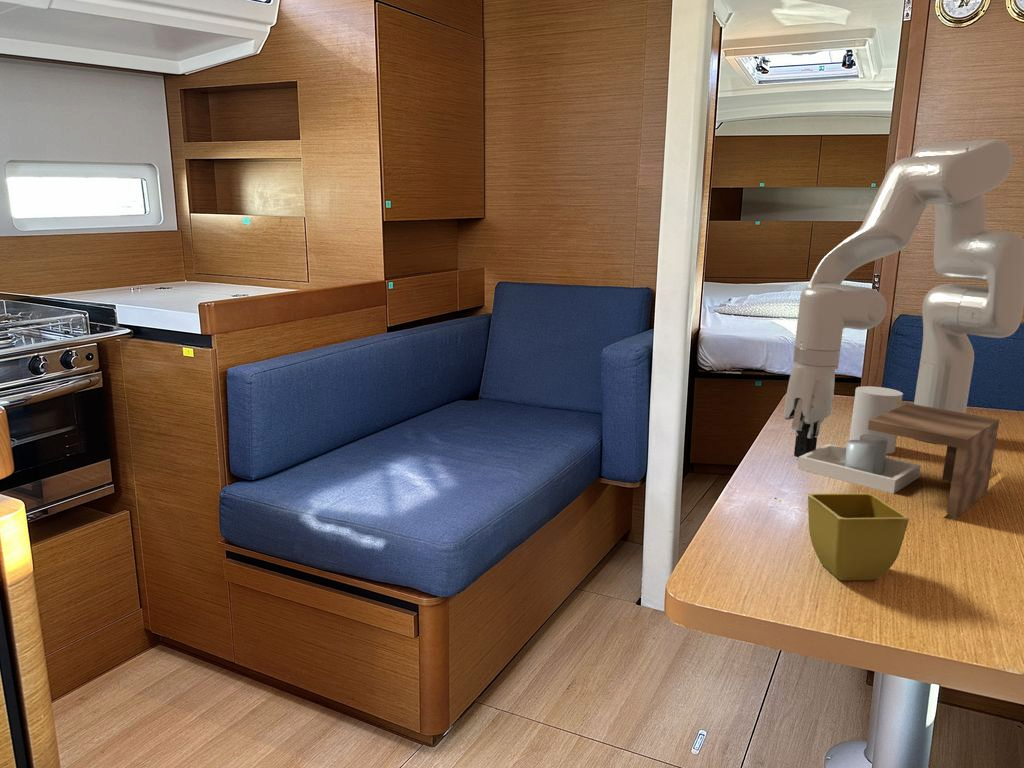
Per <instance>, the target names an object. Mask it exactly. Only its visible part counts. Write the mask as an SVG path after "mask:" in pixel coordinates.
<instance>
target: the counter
mask: <svg viewBox="0 0 1024 768" xmlns="http://www.w3.org/2000/svg"><path fill="white" fill-rule="evenodd" d="M999 424H1000V419H999V418H993V417H988V416H982V415H976V414H970V413H960V412H954V411H949V410H943V409H937V408H932V407H926V406H920V405H915V404H914V403H910V402H908V403H905V404H903V405H901V407H898V408H896V409H894V410H891V411H889V412H887V413H885V414H882V415H880V416H878V417H876V418H873V419H871V420H869V425H868V430H873V431H878V432H883V433H888V434H893V435H897V437H904V438H908V439H913V440H917V441H922V442H927V443H932V444H937V445H942V446H946V453H945V458H944V464H943V472H942V480H943V481H946V482H951V483H950V489H949V496H948V502H947V509H946V515H945V518H946V519H949V520H953V521H956V520H957V519H958V518H959V517H960V516H961V515H962V514H964V513H965V512H966V511H967V510H968V509H969V508H971V507H972V506H973V505H974V504H975V503H976V502H978V501H979V500H980V499H981V498H982V497H984V496H985V495H986V494H987V493H988V489H989V484H990V478H991V473H992V471H991V470H992V466H993V462H994V461H993V460H994V454H995V448H996V441H997V436H998V432H999Z"/></svg>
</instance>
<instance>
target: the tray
mask: <svg viewBox="0 0 1024 768" xmlns="http://www.w3.org/2000/svg"><path fill="white" fill-rule="evenodd" d="M846 449H847V447H843V446H839V445H835V444H829V443H828V444H825V445H823V446H820V447H818V448H816V449H815V450H813V451H811V452H809V453H806V454H804V455H802V456H799V457H798V461H797V470H800V471H804V472H806V473H811V474H814V475H819V476H822V477H823V476H824V477H827V478H831V479H835V480H838V481H843V482H846V483H850V484H853V485H858V486H861V487H865V488H869V489H873V490H877V491H881V492H886V493H889V494H893V495H894V494H896V493H897V492H898V491H900V490H901V489H903V488H905V487H906V486H908V485H910V484H911V483H913V482H914V481H916V480H917V479H919V478H920V473H921V464H918V463H913V462H909V461H905V460H900V459H895V458H892V457H891V458H890V457H887V456H886V458H885V465H884V472H883V474H882V475H877V474H873V473H869V472H865V471H861V470H857V469H853V468H849V467H845V458H846Z"/></svg>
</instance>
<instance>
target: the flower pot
mask: <svg viewBox="0 0 1024 768" xmlns="http://www.w3.org/2000/svg"><path fill="white" fill-rule="evenodd" d="M807 510H808V511H807V513H808V514H807V515H808V517H807V518H808V531H809V538H810V541H811V544H812V548H813V549H814V552H815V555H816V556H817V558H818V561H819V562H820V564H821V565H822V566H823V567H824V568H825V569H826V570H828V571H829V572H830V573H831V574H832V575H833V576H834V577H835V578H837V579H838V580H840V581H877V580H879V579H881V578H882V576H884V575H885V574H886V573H888V571H889V570H890V569H891V567H893V565H894V563H895V562H896V560H897V558H898V557H899V554H900V552H901V549H902V544H903V542H904V537H905V535H906V531H907V528H908V527H907V526H908V524H909V520H910V517H909V516H908V515H906V514H904V513H903V512H901V511H899V510H897V508H894V507H892V506H891V505H889V504H888V503H886V502H885V501H884V500H882V499H880V498H879V497H878V496H876V495H874V494H872V493H860V492H859V493H853V492H851V493H808V494H807Z"/></svg>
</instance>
